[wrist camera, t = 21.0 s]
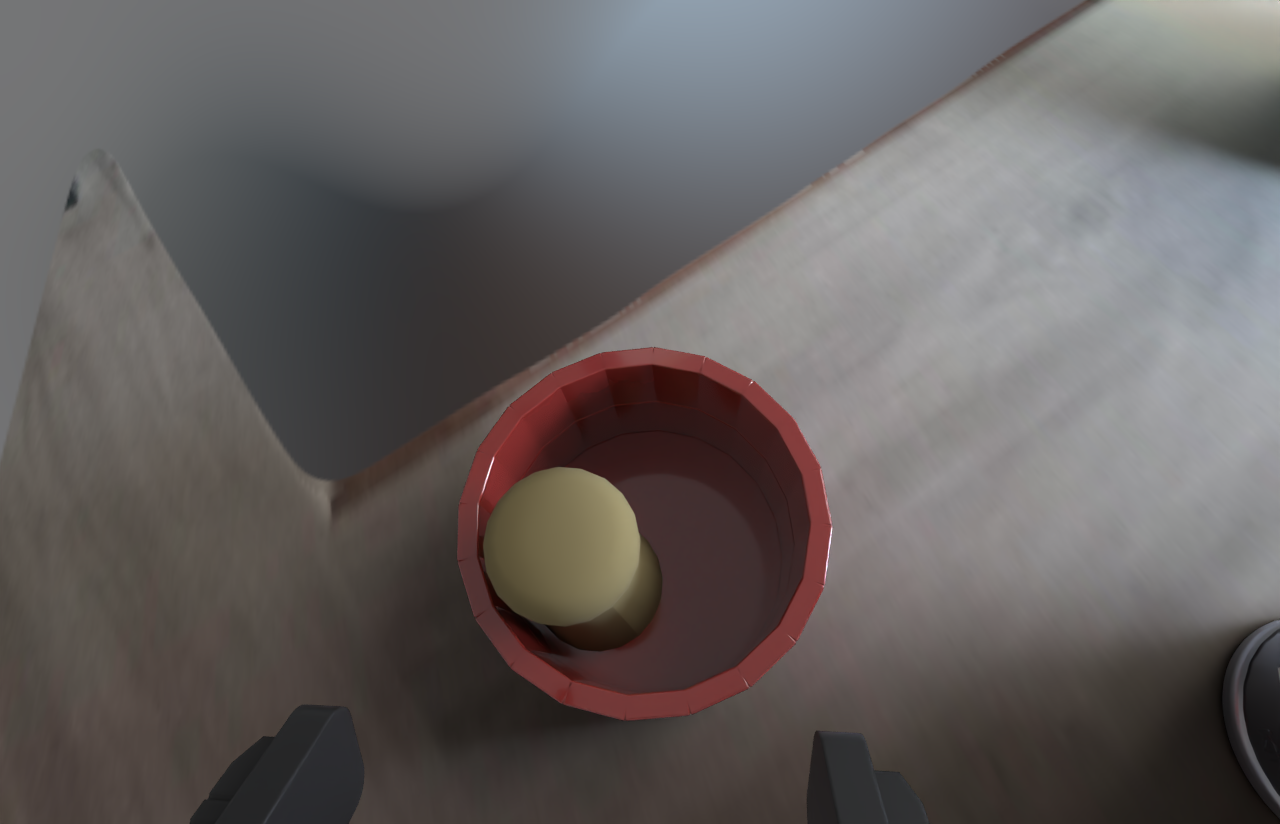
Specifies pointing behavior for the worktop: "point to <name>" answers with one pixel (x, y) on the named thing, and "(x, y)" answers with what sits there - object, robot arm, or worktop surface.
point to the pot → (664, 527)
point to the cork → (573, 559)
